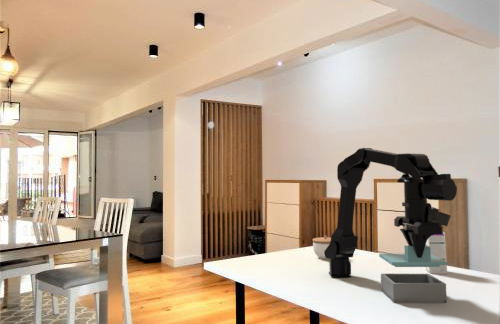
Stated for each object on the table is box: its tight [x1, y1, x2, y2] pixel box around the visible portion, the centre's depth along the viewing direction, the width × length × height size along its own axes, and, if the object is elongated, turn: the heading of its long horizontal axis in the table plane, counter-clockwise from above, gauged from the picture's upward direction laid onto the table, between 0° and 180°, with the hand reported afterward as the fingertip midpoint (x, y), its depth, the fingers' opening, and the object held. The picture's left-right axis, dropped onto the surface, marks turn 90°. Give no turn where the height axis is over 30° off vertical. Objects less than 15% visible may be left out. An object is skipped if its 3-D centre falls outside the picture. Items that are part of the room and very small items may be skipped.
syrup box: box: [425, 231, 448, 275], centre depth 135 cm, size 6×6×14 cm
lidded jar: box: [312, 234, 331, 260], centre depth 162 cm, size 11×11×9 cm
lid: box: [378, 245, 448, 268], centre depth 108 cm, size 15×12×6 cm
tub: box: [380, 273, 448, 304], centre depth 108 cm, size 14×11×5 cm
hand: (417, 256), depth 104 cm, fingers closed on lid, 2 cm apart
